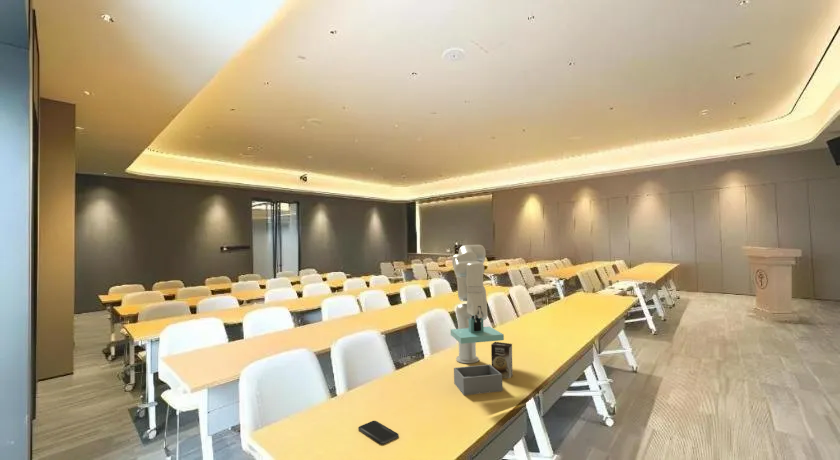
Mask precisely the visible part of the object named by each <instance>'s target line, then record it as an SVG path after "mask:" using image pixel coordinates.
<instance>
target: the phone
mask: <svg viewBox="0 0 840 460" xmlns="http://www.w3.org/2000/svg"><path fill="white" fill-rule="evenodd" d="M358 431H359V432H360V433H362V434H364V435H365V436H366V437H368V438H369V439H371V440H372V441H374V442H376V443H377V444H379V445H382V446H383V445H387V444H389V443H390V442H392V441H394V440H396V439H398V438H399V437H400V436H399V433H397V432H396V431H394V430H393V429H391V428H389V427H387V425H384V424H383V423H380V422H379V421H377V420H372V421H369V422H367V423H364V424H362V425H360V426H358Z"/></svg>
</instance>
